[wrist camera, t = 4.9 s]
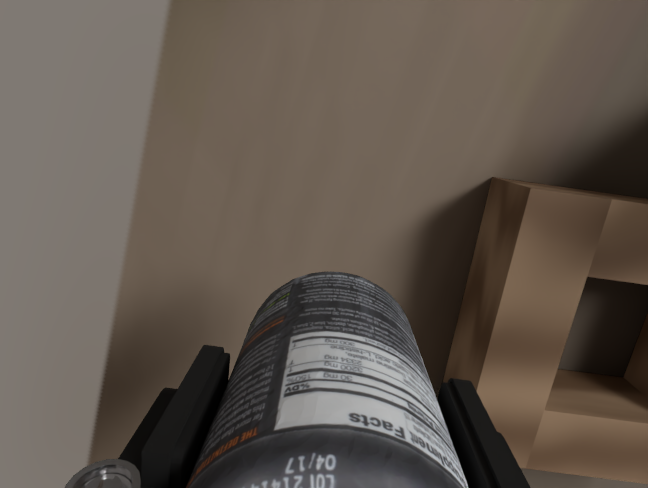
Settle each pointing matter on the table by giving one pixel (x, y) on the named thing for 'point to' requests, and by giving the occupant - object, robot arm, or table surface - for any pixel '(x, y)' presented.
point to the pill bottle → (328, 397)
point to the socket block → (553, 328)
